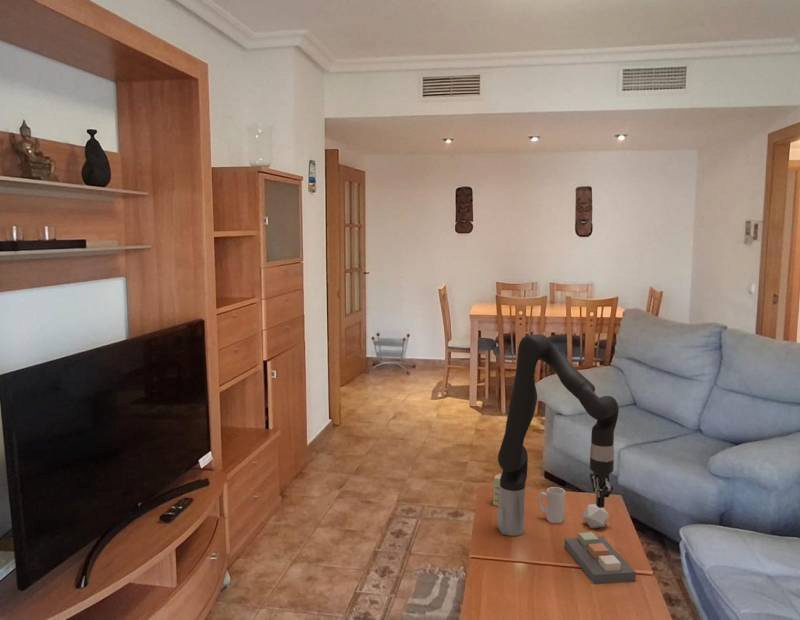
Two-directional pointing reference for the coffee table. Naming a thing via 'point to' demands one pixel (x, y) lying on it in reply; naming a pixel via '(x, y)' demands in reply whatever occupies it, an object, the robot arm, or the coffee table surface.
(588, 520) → the die
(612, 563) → the key ivory
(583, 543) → the key sage
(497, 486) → the box
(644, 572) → the coffee table surface
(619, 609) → the coffee table surface
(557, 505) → the mug
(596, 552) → the key terracotta
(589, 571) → the key panel
